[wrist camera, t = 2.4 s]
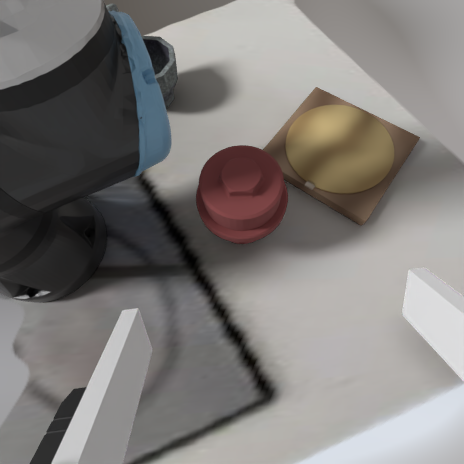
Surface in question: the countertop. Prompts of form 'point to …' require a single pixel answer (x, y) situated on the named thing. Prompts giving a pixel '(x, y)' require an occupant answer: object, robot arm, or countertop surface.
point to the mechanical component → (241, 194)
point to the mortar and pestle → (160, 62)
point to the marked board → (340, 153)
